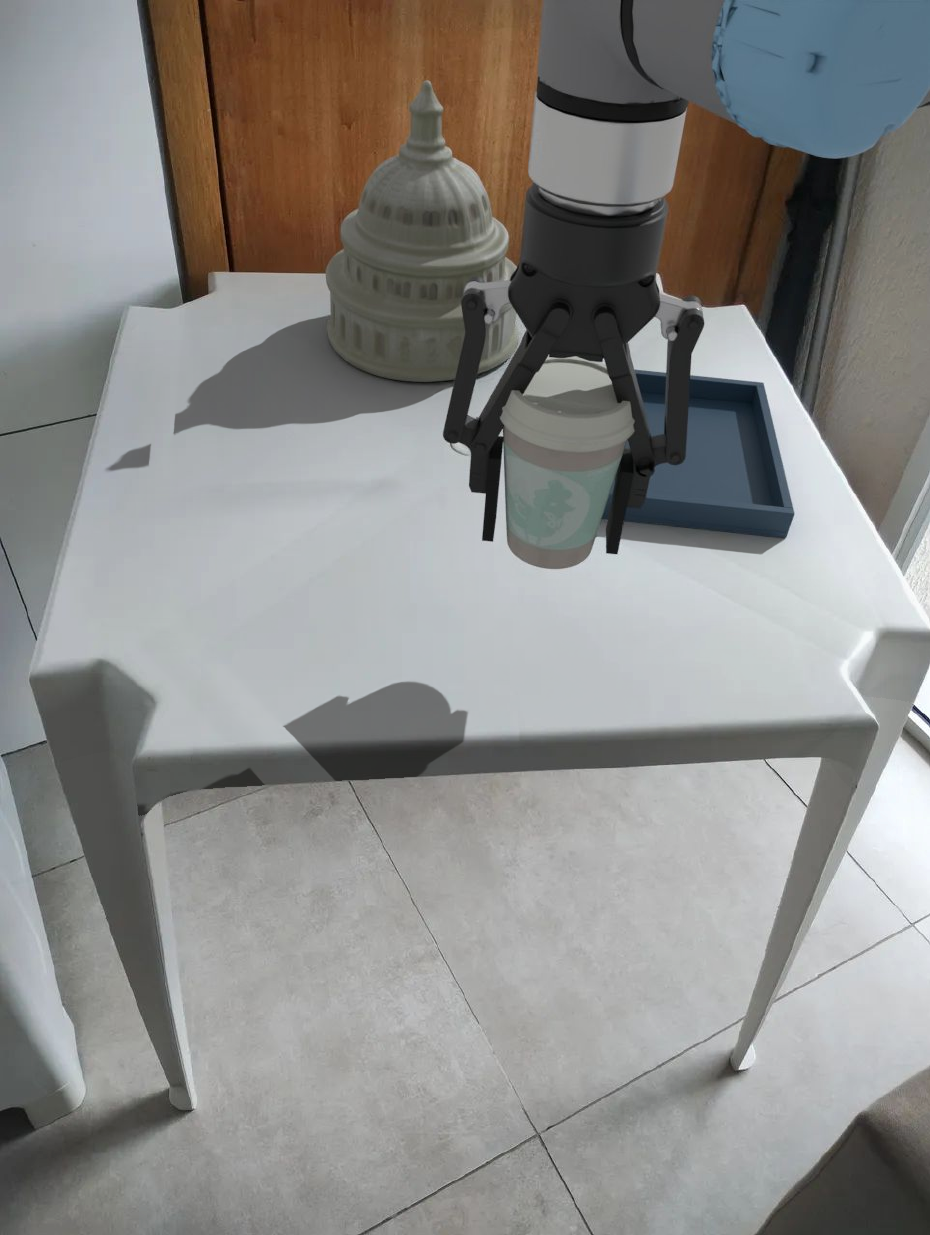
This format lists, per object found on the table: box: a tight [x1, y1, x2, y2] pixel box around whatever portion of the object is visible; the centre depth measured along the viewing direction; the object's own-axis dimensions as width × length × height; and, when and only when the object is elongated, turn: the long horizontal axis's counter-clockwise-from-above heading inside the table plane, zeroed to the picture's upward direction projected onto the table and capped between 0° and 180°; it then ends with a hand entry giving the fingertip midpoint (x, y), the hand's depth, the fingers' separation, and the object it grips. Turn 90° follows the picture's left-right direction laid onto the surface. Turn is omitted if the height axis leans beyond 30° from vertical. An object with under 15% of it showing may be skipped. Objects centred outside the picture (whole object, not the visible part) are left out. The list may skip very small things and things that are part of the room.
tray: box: [602, 368, 795, 539], centre depth 92 cm, size 22×18×3 cm
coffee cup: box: [500, 356, 635, 570], centre depth 64 cm, size 8×8×12 cm
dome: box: [325, 80, 519, 383], centre depth 98 cm, size 20×25×20 cm
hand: (550, 534), depth 68 cm, fingers closed on coffee cup, 8 cm apart
